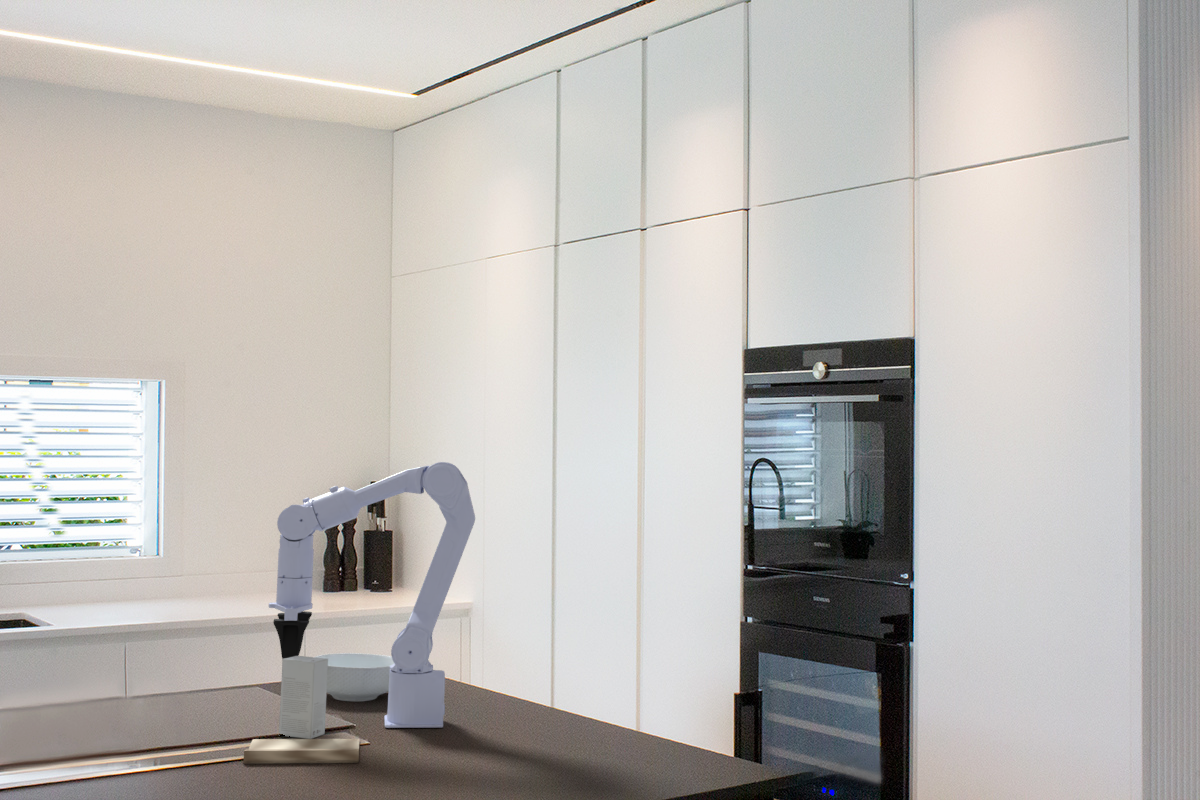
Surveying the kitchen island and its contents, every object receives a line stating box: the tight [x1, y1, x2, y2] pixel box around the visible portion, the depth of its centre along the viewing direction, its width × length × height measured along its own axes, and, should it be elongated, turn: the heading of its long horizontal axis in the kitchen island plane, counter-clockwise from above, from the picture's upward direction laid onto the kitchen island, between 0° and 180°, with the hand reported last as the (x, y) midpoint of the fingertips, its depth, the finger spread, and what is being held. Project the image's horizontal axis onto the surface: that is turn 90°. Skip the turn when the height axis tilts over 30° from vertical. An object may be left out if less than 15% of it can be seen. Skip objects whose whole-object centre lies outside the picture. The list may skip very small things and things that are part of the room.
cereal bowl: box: [314, 652, 395, 702], centre depth 213 cm, size 17×17×7 cm
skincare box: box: [278, 655, 328, 739], centre depth 183 cm, size 6×4×12 cm
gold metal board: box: [242, 738, 360, 765], centre depth 172 cm, size 16×13×2 cm
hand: (291, 659), depth 192 cm, fingers open, 7 cm apart
